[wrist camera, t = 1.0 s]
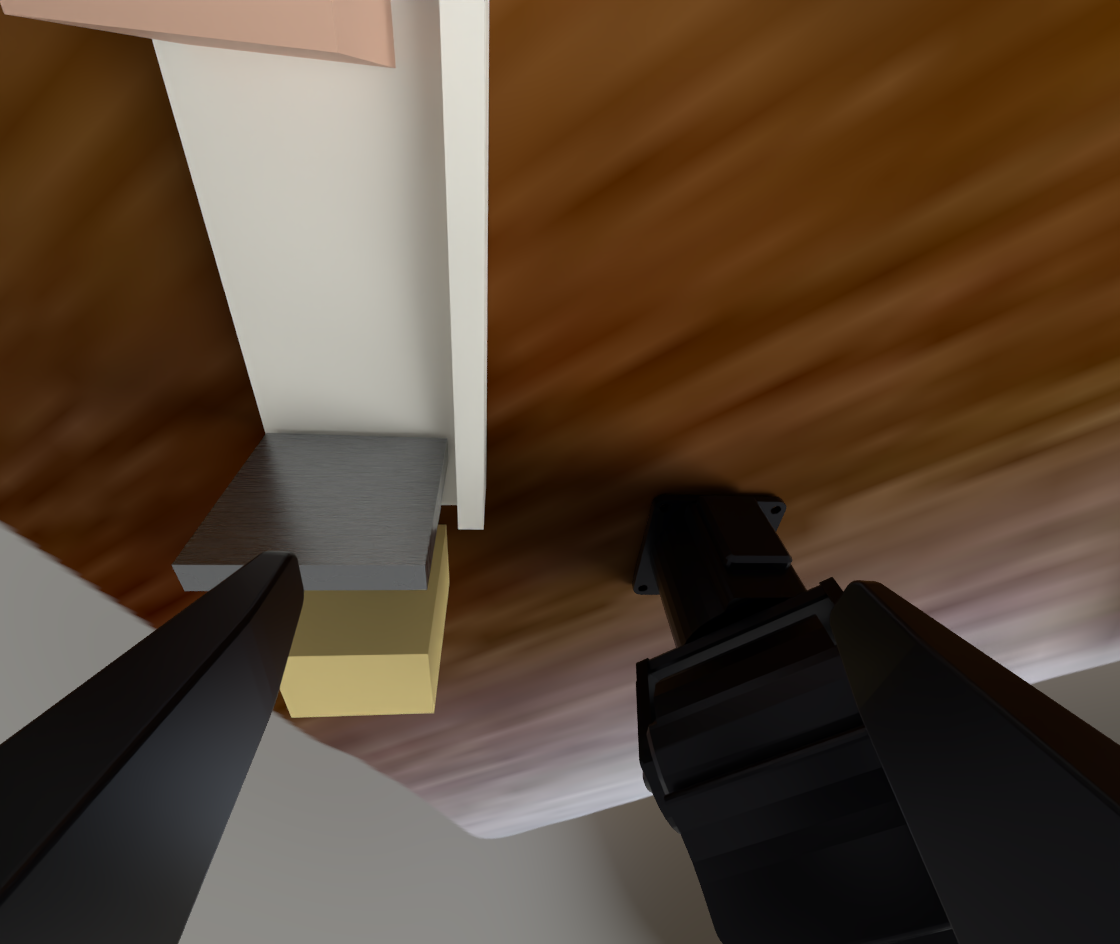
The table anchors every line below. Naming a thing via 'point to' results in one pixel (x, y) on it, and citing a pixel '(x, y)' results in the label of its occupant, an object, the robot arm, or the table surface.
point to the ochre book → (369, 648)
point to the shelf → (339, 203)
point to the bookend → (327, 512)
